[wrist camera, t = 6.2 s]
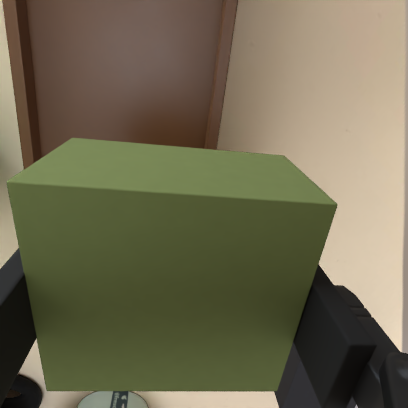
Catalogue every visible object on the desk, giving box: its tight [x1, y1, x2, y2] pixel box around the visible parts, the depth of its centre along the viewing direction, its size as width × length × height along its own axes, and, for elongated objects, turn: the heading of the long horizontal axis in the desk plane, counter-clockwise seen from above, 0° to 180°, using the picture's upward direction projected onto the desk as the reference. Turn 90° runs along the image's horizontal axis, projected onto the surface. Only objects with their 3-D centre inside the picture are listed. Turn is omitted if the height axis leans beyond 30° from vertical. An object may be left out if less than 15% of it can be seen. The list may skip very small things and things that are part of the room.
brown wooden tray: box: [2, 0, 238, 170], centre depth 21 cm, size 23×15×2 cm, turn 173°
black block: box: [274, 342, 356, 408], centre depth 35 cm, size 9×8×5 cm
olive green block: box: [7, 138, 337, 391], centre depth 12 cm, size 9×8×5 cm
